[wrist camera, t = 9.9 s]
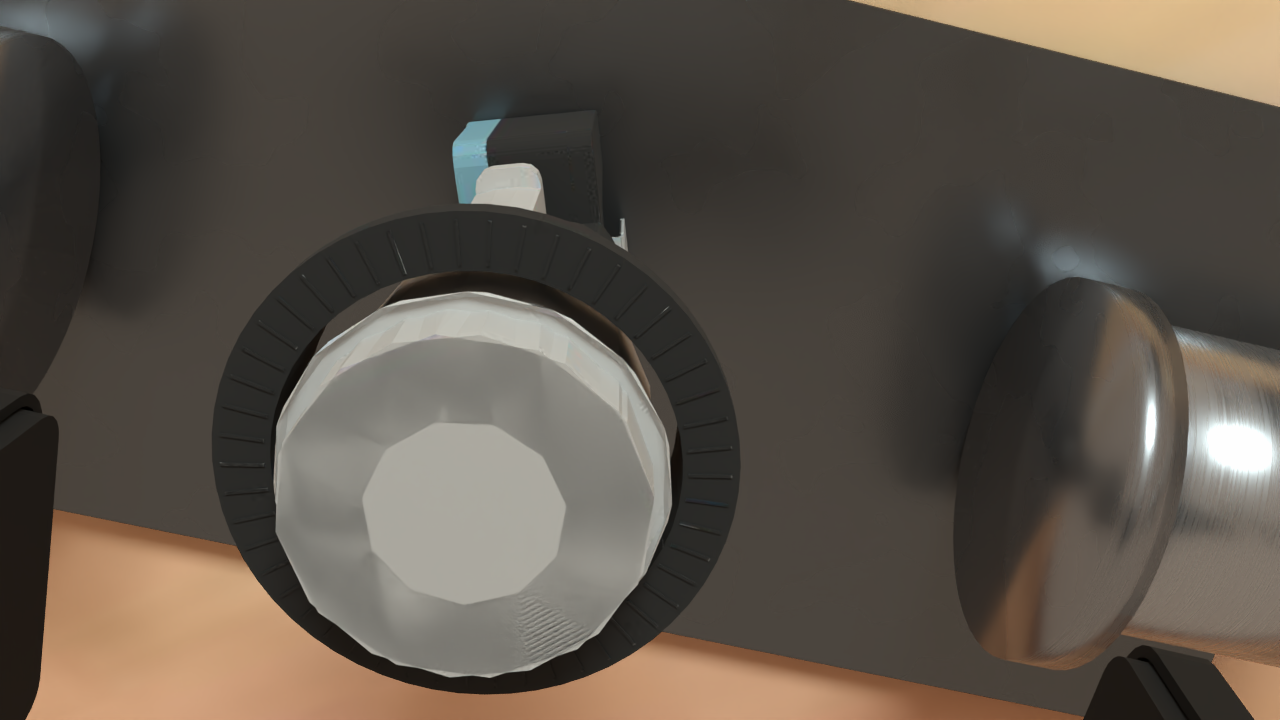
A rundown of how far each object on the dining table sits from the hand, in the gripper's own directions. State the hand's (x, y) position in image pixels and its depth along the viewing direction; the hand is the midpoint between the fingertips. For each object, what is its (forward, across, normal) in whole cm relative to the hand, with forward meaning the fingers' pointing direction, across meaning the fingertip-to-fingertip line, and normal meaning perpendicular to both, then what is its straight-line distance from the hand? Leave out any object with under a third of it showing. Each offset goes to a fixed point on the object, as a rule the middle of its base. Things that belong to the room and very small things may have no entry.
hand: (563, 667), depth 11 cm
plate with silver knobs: (+12, +1, 0) cm, 12 cm away
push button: (+11, +1, 0) cm, 11 cm away
